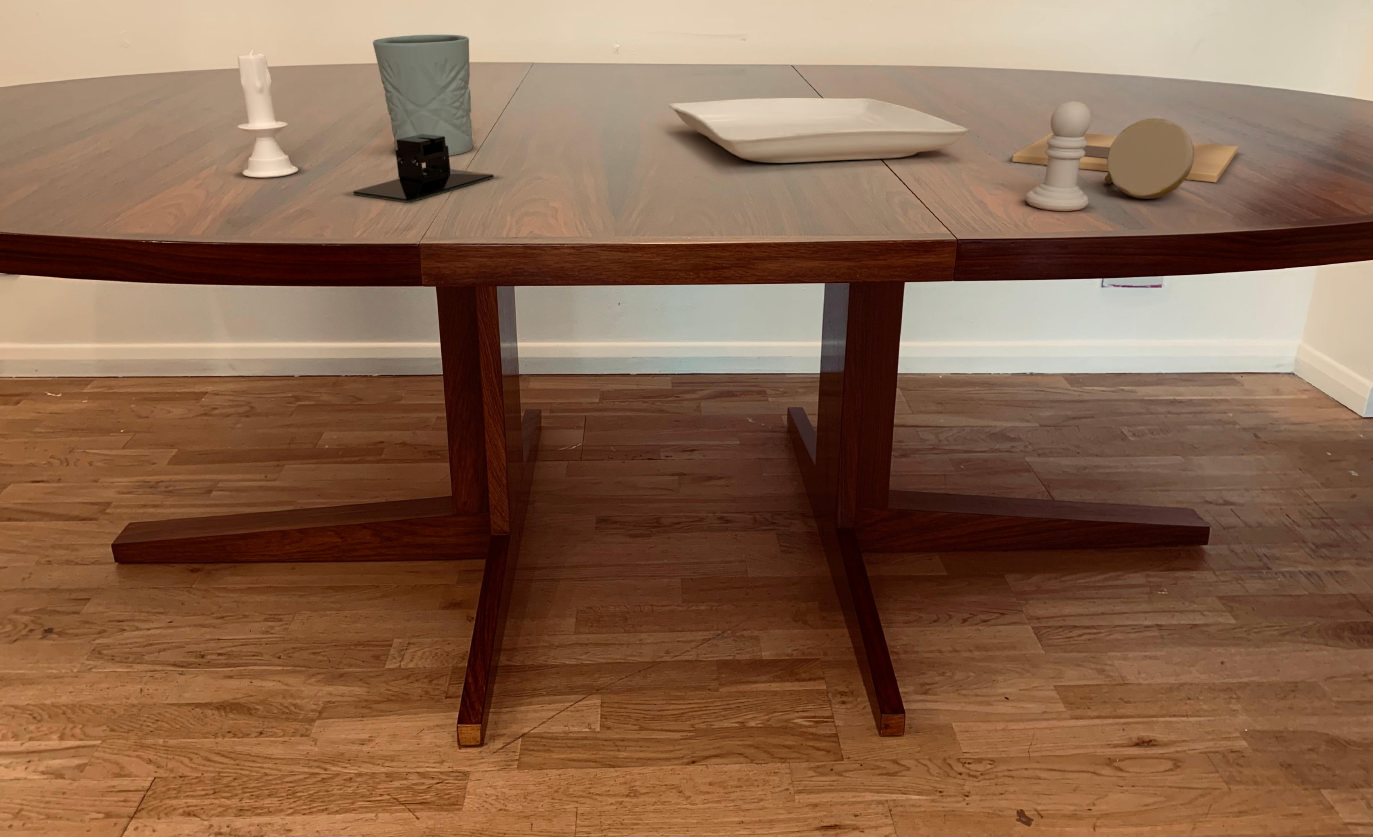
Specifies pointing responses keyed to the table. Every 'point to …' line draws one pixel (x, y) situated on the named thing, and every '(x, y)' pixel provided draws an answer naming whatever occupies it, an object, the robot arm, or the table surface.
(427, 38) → the drinking glass
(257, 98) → the candle
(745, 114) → the square plate
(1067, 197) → the chess piece
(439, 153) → the motor on base plate
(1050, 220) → the table surface
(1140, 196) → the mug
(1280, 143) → the table surface
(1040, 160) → the board
